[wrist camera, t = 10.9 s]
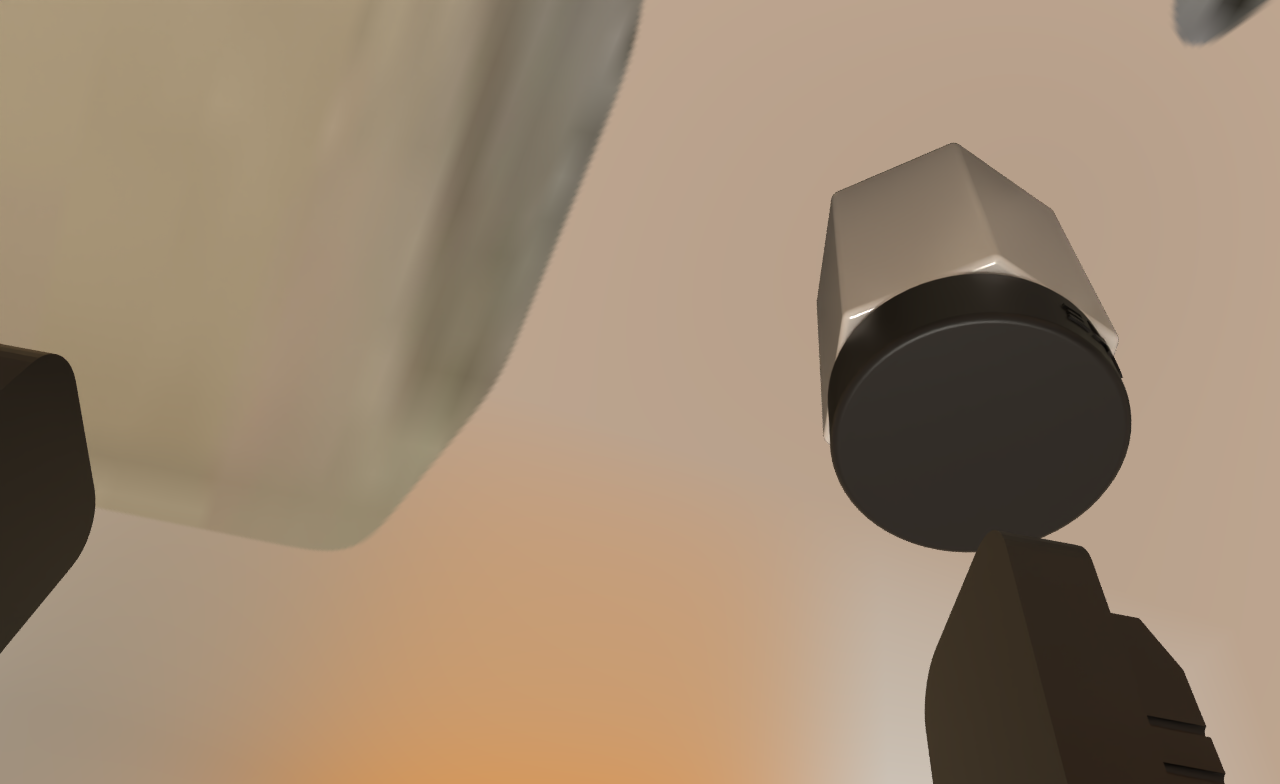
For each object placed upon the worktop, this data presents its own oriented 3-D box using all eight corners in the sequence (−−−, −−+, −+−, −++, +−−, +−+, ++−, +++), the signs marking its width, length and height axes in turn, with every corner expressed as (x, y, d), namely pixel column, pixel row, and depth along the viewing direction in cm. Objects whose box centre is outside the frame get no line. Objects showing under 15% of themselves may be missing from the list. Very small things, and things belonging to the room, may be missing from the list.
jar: (1016, 370, 42) (1088, 580, 32) (806, 351, 43) (811, 551, 33) (1075, 149, 37) (1180, 314, 27) (836, 131, 38) (854, 287, 28)
